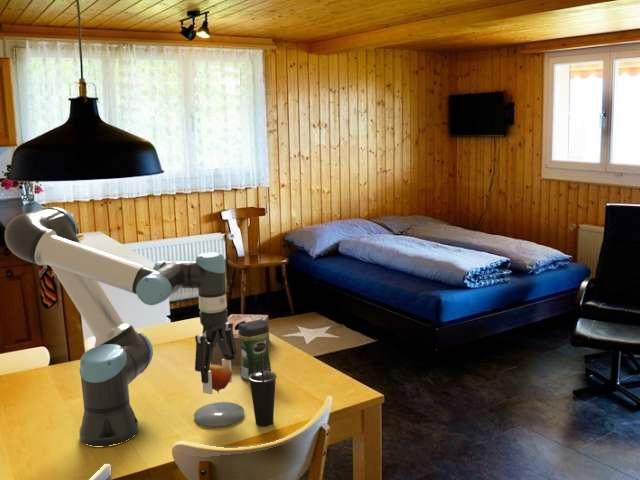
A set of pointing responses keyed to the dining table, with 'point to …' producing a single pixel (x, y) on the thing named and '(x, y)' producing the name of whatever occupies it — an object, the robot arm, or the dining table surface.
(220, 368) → the fruit
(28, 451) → the dining table surface
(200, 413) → the slate plate
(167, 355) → the dining table surface
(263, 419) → the drinking cup
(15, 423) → the dining table surface
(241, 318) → the tissue box cover
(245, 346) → the coffee jar
